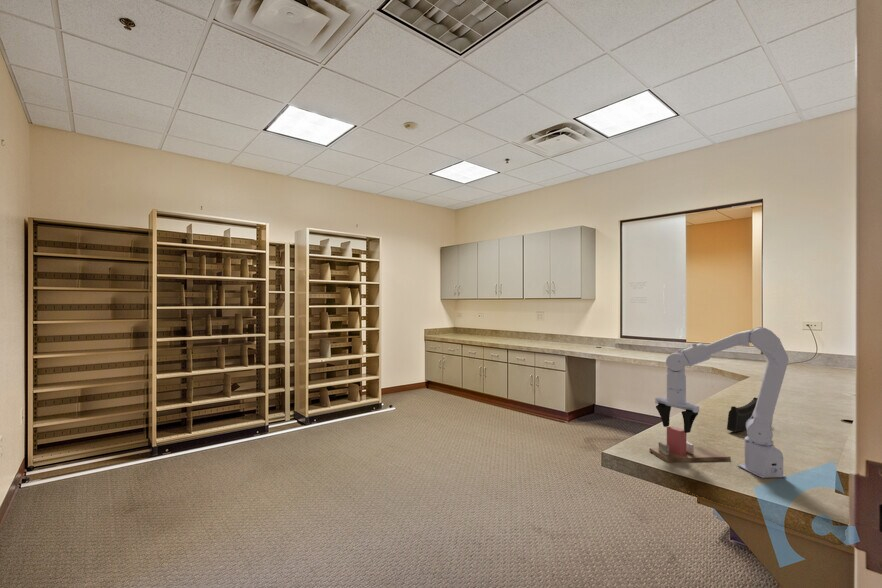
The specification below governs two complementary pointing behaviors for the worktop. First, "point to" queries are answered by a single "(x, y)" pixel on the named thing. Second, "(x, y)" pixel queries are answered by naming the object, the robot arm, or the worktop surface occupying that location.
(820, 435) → the worktop surface
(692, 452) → the sliding bookend
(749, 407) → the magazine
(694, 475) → the worktop surface
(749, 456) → the robot arm
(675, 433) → the book
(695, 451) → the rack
